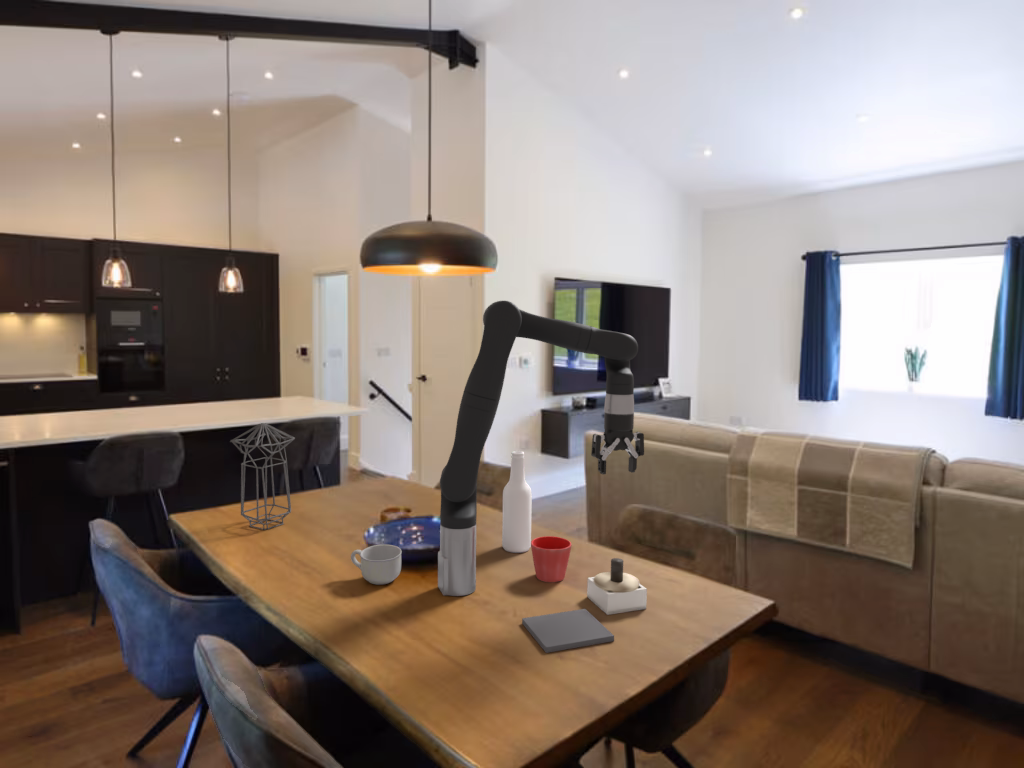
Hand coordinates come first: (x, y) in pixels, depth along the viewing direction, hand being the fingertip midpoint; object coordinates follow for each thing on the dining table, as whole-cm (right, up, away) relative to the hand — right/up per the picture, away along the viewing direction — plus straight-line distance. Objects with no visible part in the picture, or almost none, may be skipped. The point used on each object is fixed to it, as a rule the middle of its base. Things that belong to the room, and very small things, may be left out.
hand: (617, 472), depth 165 cm
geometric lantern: (-110, -25, +48) cm, 123 cm away
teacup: (-64, -29, +4) cm, 70 cm away
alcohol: (-26, -28, +29) cm, 48 cm away
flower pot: (-17, -30, +7) cm, 35 cm away
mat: (-15, -32, -24) cm, 43 cm away
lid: (-2, -26, -9) cm, 27 cm away
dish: (-2, -31, -8) cm, 32 cm away
